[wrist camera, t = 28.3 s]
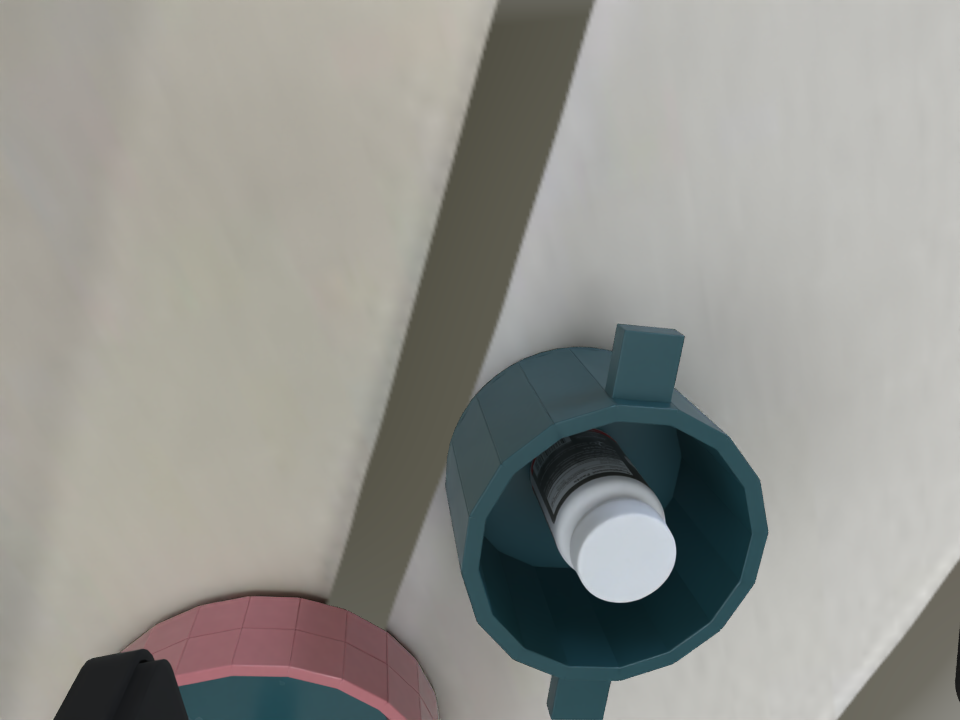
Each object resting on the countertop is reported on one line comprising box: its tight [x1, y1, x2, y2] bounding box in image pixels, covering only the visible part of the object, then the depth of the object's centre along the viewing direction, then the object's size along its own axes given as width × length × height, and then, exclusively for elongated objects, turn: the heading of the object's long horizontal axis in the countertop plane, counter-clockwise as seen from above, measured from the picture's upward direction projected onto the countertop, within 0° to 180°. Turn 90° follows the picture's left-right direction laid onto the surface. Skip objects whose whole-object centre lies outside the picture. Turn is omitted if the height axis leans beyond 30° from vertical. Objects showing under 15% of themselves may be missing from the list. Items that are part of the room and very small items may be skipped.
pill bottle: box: [530, 428, 676, 603], centre depth 33 cm, size 5×5×8 cm
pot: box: [445, 324, 768, 720], centre depth 34 cm, size 12×18×8 cm
